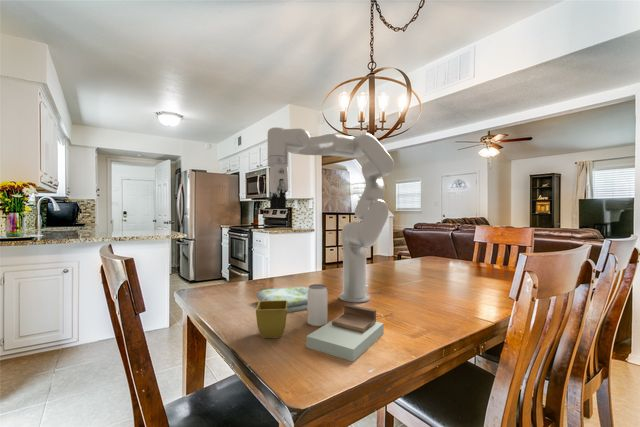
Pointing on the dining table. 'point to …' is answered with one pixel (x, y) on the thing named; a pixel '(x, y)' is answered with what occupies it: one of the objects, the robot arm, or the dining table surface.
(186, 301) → the dining table surface
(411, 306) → the dining table surface
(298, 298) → the towel
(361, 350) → the well board
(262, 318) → the flower pot
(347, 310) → the lid
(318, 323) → the can
